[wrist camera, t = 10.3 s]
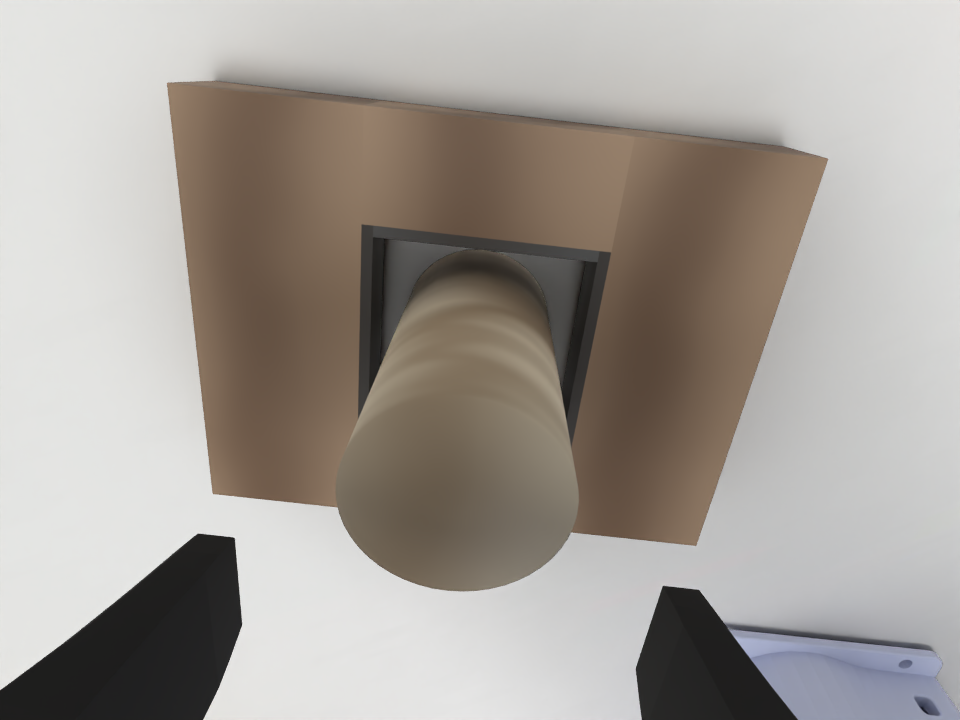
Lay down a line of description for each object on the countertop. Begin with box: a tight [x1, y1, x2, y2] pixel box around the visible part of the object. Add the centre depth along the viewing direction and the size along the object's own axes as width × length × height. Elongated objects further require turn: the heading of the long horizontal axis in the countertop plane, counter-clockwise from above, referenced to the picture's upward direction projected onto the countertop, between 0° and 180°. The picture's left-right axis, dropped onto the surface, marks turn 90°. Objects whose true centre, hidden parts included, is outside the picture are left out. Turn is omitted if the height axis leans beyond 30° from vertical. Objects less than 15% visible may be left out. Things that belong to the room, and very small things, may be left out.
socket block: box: [167, 81, 828, 546], centre depth 18 cm, size 16×12×2 cm
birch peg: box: [335, 250, 579, 591], centre depth 15 cm, size 4×4×9 cm
